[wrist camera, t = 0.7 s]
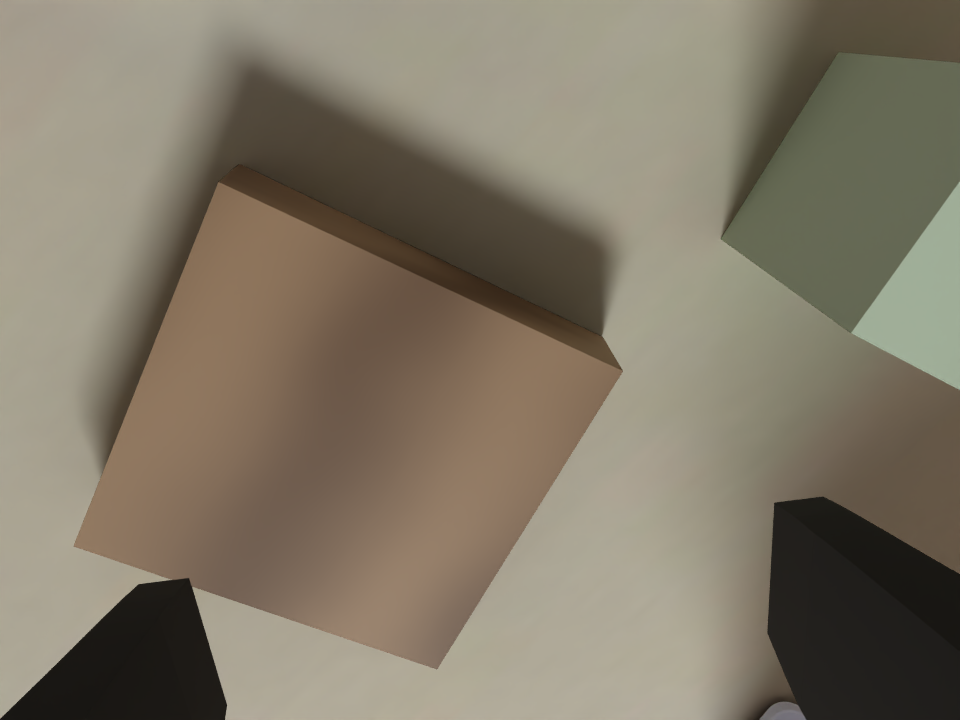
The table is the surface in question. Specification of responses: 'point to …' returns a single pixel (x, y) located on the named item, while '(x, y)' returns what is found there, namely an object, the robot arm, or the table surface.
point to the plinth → (341, 425)
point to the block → (870, 207)
